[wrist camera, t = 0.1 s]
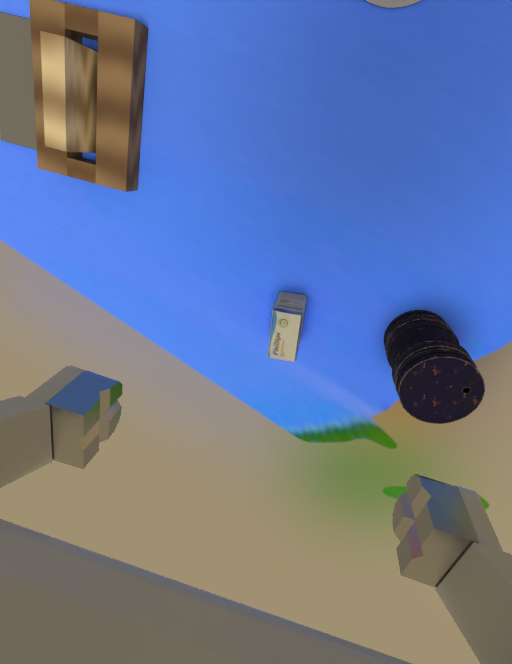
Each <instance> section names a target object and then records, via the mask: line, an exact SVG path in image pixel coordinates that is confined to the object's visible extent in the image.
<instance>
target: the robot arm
mask: <svg viewBox="0 0 512 664" xmlns="http://www.w3.org/2000/svg"><path fill="white" fill-rule="evenodd" d="M366 1H368V2H370V3H372V4H374V5H377V6H380V7H386V8H397V7H404V6H408V5H411V4H414V3H416V2H418V1H421V0H366ZM121 395H122V384H121V383H120V382H119V381H116V380H113V379H110V378H107V377H104V376H101V375H98V374H96V373H93V372H90V371H85V370H83V369H80V368H77V367H74V366H67V367H65V368H64V369H62V370H61V371H59V372H58V373H57V374H55V375H54V376H53V377H51V378H50V379H49V380H48V381H46V382H45V383H44V384H42V385H41V386H40V387H38V388H37V389H36V390H34V391H33V392H32V393H30V394H29V395H28V396H26V397H22V396H17V397H14V398H10V399H6V400H2V401H0V488H1V487H3V486H5V485H7V484H9V483H11V482H13V481H15V480H17V479H19V478H21V477H23V476H25V475H27V474H29V473H31V472H33V471H35V470H36V469H39V468H41V467H43V466H45V465H47V464H49V463H51V462H52V460H55V461H58V462H62V463H66V464H68V465H72V466H75V467H79V468H82V469H84V468H85V467H86V465H87V464H88V463H89V462H90V460H91V459H92V458H93V457H94V456H95V454H96V453H97V452H98V451H99V442H102V441H104V440H107V439H108V438H109V437H110V436H111V435H112V433H113V432H114V430H115V428H116V426H117V424H118V422H119V419H120V415H121V405H120V404H119V402H118V400H117V399H118V398H119V397H120V396H121ZM407 488H408V492H406V493H404V494H401V495H400V496H399V498H398V499H397V501H396V503H395V506H394V511H393V529H394V533H395V534H396V536H397V537H398V538H399V540H400V541H401V542H400V544H399V546H398V547H397V554H398V560H399V566H400V572H401V575H402V576H405V577H408V578H411V579H413V580H416V581H419V582H422V583H424V584H427V585H430V586H432V587H435V588H436V591H437V593H438V595H439V596H440V598H441V599H442V601H443V602H444V604H445V606H446V608H447V609H448V611H449V612H450V614H451V616H452V618H453V619H454V620H455V622H456V624H457V626H458V627H459V629H460V631H461V632H462V634H463V635H464V637H465V639H466V640H467V642H468V644H469V645H470V647H471V649H472V650H473V652H474V653H475V655H476V656H477V658H478V660H479V662H480V663H481V664H512V555H511V554H509V553H506V552H503V550H502V547H501V545H500V543H499V541H498V538H497V536H496V534H495V531H494V529H493V527H492V525H491V522H490V520H489V518H488V515H487V513H486V511H485V509H484V506H483V504H482V502H481V499H480V497H479V495H478V494H477V493H476V492H475V491H472V490H468V489H465V488H462V487H458V486H453V485H450V484H446V483H443V482H440V481H437V480H434V479H430V478H427V477H424V476H420V475H417V474H414V475H413V476H412V477H411V478H410V479H409V481H408V482H407ZM0 664H412V663H409V662H406V661H403V660H401V659H398V658H395V657H392V656H389V655H387V654H384V653H381V652H378V651H375V650H372V649H369V648H366V647H364V646H361V645H358V644H355V643H352V642H349V641H346V640H344V639H341V638H338V637H335V636H332V635H329V634H327V633H323V632H321V631H318V630H315V629H312V628H309V627H307V626H304V625H301V624H298V623H295V622H292V621H289V620H287V619H284V618H281V617H278V616H275V615H272V614H269V613H267V612H264V611H261V610H258V609H255V608H252V607H249V606H247V605H244V604H241V603H238V602H235V601H232V600H229V599H227V598H224V597H221V596H218V595H215V594H212V593H210V592H207V591H204V590H201V589H198V588H195V587H193V586H190V585H187V584H184V583H181V582H178V581H176V580H173V579H170V578H167V577H164V576H161V575H159V574H156V573H153V572H150V571H147V570H144V569H141V568H139V567H135V566H133V565H130V564H127V563H124V562H121V561H119V560H116V559H113V558H110V557H107V556H105V555H102V554H99V553H96V552H93V551H90V550H87V549H84V548H82V547H79V546H76V545H73V544H70V543H67V542H65V541H62V540H59V539H56V538H53V537H50V536H48V535H45V534H42V533H39V532H36V531H33V530H31V529H28V528H24V527H22V526H19V525H16V524H13V523H11V522H8V521H5V520H2V519H0Z"/></svg>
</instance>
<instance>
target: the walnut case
mask: <svg viewBox="0 0 512 664" xmlns="http://www.w3.org/2000/svg"><path fill="white" fill-rule="evenodd" d="M29 2H30V22H31V42H32V61H33V81H34V101H35V121H36V141H37V161H38V168H40V169H44V170H47V171H51V172H55V173H59V174H62V175H66V176H70V177H73V178H77V179H81V180H84V181H88V182H92V183H96V184H99V185H103V186H107V187H110V188H114V189H118V190H122V191H125V192H126V191H133V190H137V186H138V172H139V157H140V142H141V127H142V112H143V97H144V82H145V67H146V52H147V37H148V28H146V27H145V26H144V25H142V24H141V23H139V22H138V21H137V20H135V19H132V18H127V17H123V16H119V15H114V14H110V13H106V12H101V11H97V10H93V9H88V8H84V7H80V6H75V5H71V4H67V3H62V2H58V1H54V0H29ZM40 31H43V32H47V33H51V34H56V35H60V36H64V37H66V38H69V39H71V40H73V41H75V42H77V43H79V44H82V37H85V38H89V39H93V40H98V68H97V126H96V161H92V160H89V159H85V158H82V152H66V151H62V150H58V149H54V148H51V147H47V146H45V136H44V112H43V87H42V63H41V38H40Z"/></svg>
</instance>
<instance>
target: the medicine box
mask: <svg viewBox="0 0 512 664" xmlns="http://www.w3.org/2000/svg"><path fill="white" fill-rule="evenodd" d="M306 300H307V295H302V294H296V293H289V292H283V291H281V292H280V293H279V295H278V298H277V300H276V302H275V305H274V307H273V310H272V321H271V330H270V339H269V348H268V355H267V357H268V358H274V359H280V360H286V361H292V362H295V361H296V358H297V353H298V349H299V344H300V340H301V334H302V327H303V321H304V314H305V307H306Z"/></svg>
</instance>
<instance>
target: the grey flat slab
mask: <svg viewBox="0 0 512 664" xmlns="http://www.w3.org/2000/svg"><path fill="white" fill-rule="evenodd" d="M0 134H1V140H2V141H6V142H9V143H13V144H17V145H21V146H24V147H28V148H32V149H36V150H37V141H36V121H35V101H34V81H33V61H32V42H31V22H30V19H27V18H23V17H19V16H14V15H10V14H6V13H2V12H0Z"/></svg>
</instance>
